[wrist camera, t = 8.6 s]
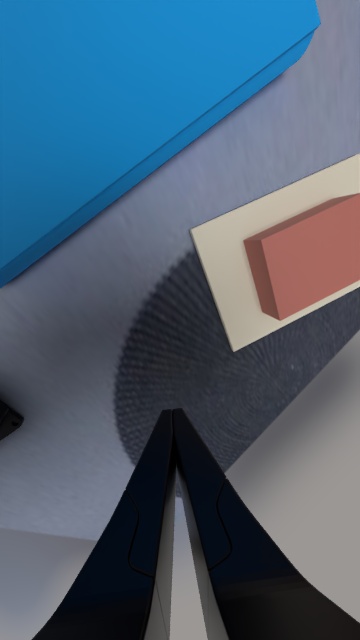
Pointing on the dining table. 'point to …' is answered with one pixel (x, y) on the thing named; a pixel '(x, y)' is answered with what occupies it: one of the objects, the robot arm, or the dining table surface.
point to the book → (119, 98)
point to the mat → (239, 224)
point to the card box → (306, 256)
